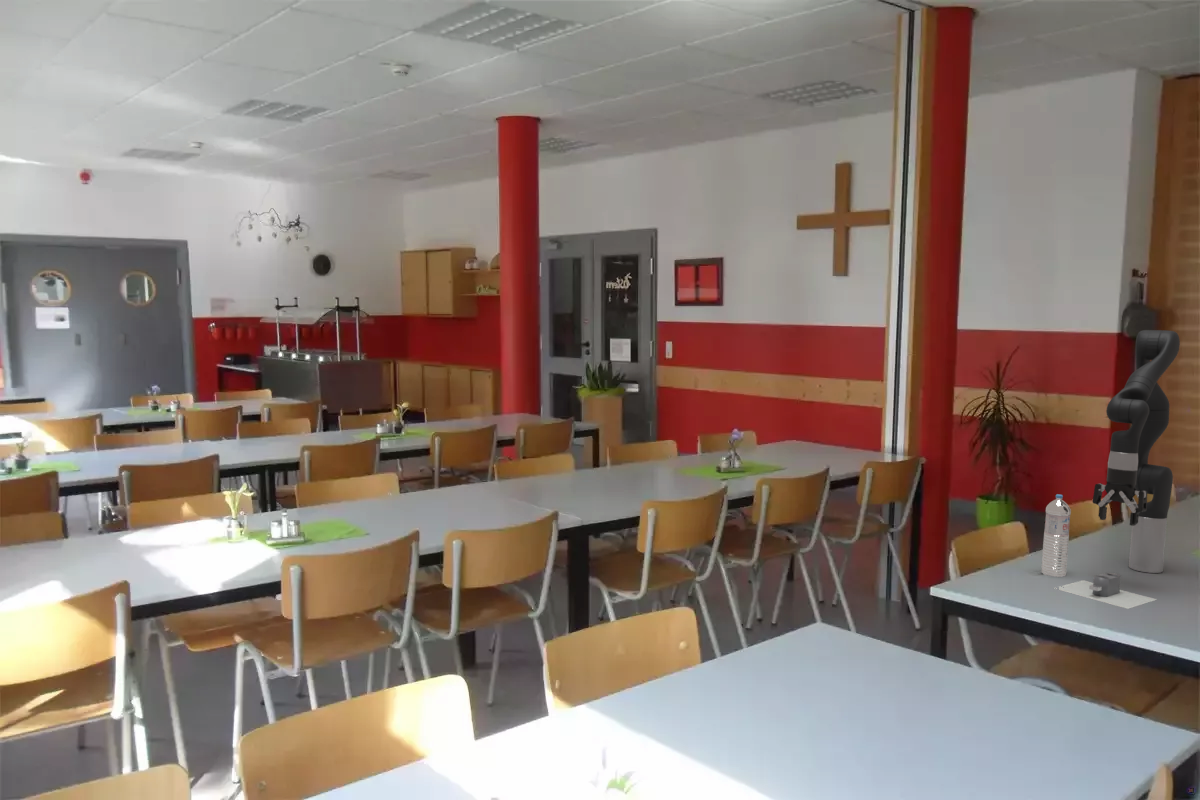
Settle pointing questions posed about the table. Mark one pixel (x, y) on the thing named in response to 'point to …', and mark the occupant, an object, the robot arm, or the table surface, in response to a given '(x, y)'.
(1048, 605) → the table surface
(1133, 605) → the rubber mat
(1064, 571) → the water bottle
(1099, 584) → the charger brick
